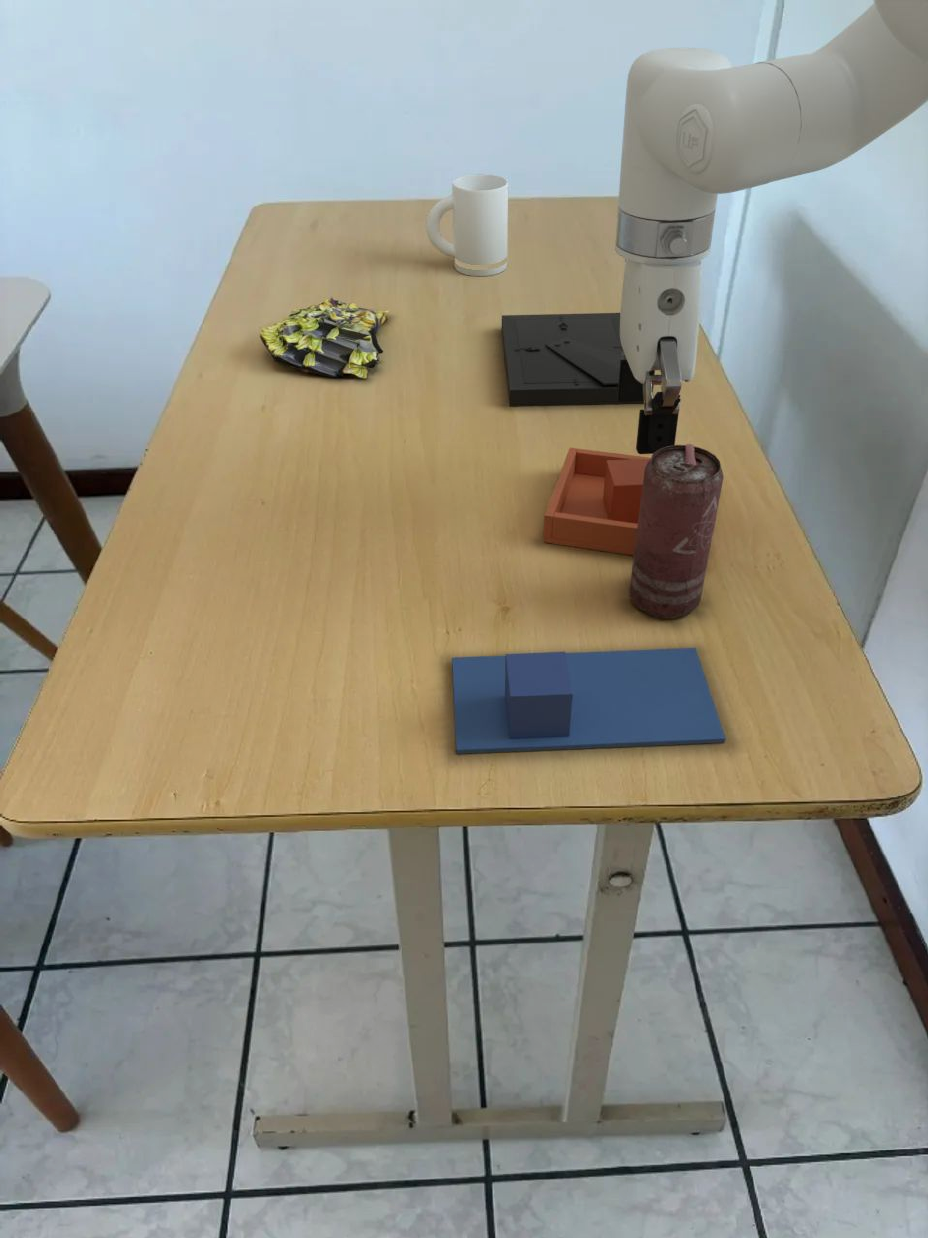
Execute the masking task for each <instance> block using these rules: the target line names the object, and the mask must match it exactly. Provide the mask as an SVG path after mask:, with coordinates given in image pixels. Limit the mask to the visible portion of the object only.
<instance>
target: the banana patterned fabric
mask: <svg viewBox="0 0 928 1238" xmlns="http://www.w3.org/2000/svg"><path fill="white" fill-rule="evenodd" d="M389 312H390V310H389V309H387V310H375V309H369V308H364V307H359V306H357V305H356V304H355V302H354V301H353V302H350V303H346V302H344V301H342V300H340V299H338V300H335V299H334V298H333V296H331V297H329V298H325V300H323V301H322V302H321V303H319V304H317V305H315V304H311V305H310V306H309V307H304V308H302V309H292V310H291V312H290V314H289V316H286V317H284V318H283V319H282V320H281V321H277V322H275V323H274V324H273V325H272V326H267V327H266V329H265V328H262V327H260V330H261V332H260V333H259V339H260V341H261V343H262V344H263V346H264V347H265V349H266V350H267V351H268V353H269V355H270V357H271V358H272V360H273V361H274V363H275V364H280V365H284V366H286V367H290V368H292V369H293V368H294V369H297V370H300V371H302V372H303V373H311V374H314V375H319V376H323V377H328V378H338V377H339V378H340V377H344V374H348V375H349V374H350V375H353V376H356V377H358V378H361V379H367V378H368V375H369V373H368V368H369V369H375V367H376V366H377V365H378V362H379V361H380V359H378V355H380V354H383V353H384V350H383V349H382V348H381V346H380V344H379V342H378V337H377V331H378V329H379V328H381V326H382V325H383V324H384V323H385V322H386V321H387V320H388V318H389V316H388V313H389Z"/></svg>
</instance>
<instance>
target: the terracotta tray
mask: <svg viewBox="0 0 928 1238" xmlns="http://www.w3.org/2000/svg"><path fill="white" fill-rule="evenodd" d="M631 459H651V457H649V456H640V455H632V454H623V453H616V452H610V451H609V452H608V451H600V450H594V449H593V450H591V449H585V448H578V447H569V449H568V452H567V454H566V457H565V460H564V462H563V465H562V467H561V470H560V473H559V476H558V478H557V481H556V484H555V486H554V489H553V492H552V495H551V497H550V499H549V502H548V505H547V507H546V510H545V512H544V515H543V516H544V517H543V536H542V537H543V540H542V541H543V543H547V544H554V545H560V546H566V547H572V548H573V547H574V548H579V549H587V550H592V551H593V550H594V551H600V552H607V553H613V554H619V555H628V556H633V557H634V550H635V543H636V535H637V527H638V524H635V523H628V522H621V521H614V520H609V519H608V516H607V512H606V509H605V505H604V501H603V493H604V482H605V471H606V461H607V460H631Z"/></svg>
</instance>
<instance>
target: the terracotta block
mask: <svg viewBox="0 0 928 1238" xmlns="http://www.w3.org/2000/svg"><path fill="white" fill-rule="evenodd" d="M649 460H650V459H631V460H607V461H606V471H605V482H604V493H603V501H604V505H605V509H606V512H607V516H608V519H609V520H614V521H621V522H628V523H635V524H638V519H639V511H640V503H641V495H642V487H643V479H644V471H645V467H646V465H647V463H648V461H649Z"/></svg>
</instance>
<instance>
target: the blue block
mask: <svg viewBox="0 0 928 1238" xmlns="http://www.w3.org/2000/svg"><path fill="white" fill-rule="evenodd" d="M566 653H567V652H566V651H550V652H549V651H547V652H525V653H523V652H519V653H505V655H506V657H505V702H506V712H507V722H508V731H509V738H510V739H516V738H540V737H564V736H569V735H570V723H571V711H572V699H573V692H572V686H571V681H570V675H569V670H568V664H567V658H566Z"/></svg>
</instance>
